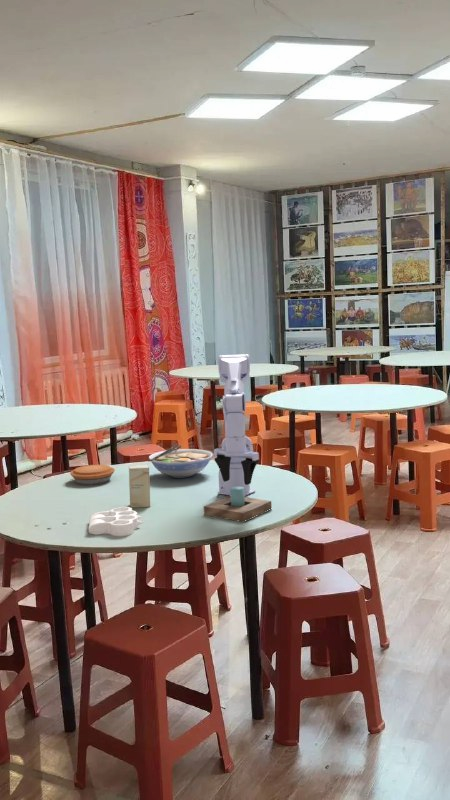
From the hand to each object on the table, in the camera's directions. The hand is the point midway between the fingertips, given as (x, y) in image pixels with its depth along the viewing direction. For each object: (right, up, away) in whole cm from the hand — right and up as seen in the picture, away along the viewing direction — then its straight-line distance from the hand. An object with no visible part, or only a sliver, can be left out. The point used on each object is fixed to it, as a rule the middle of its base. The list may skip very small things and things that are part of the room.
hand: (236, 482), depth 207 cm
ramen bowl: (-19, -3, +49) cm, 52 cm away
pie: (-50, -5, +46) cm, 68 cm away
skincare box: (-29, -9, +12) cm, 33 cm away
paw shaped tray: (-33, -12, -8) cm, 36 cm away
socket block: (0, -9, +1) cm, 9 cm away
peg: (0, -9, +1) cm, 9 cm away
